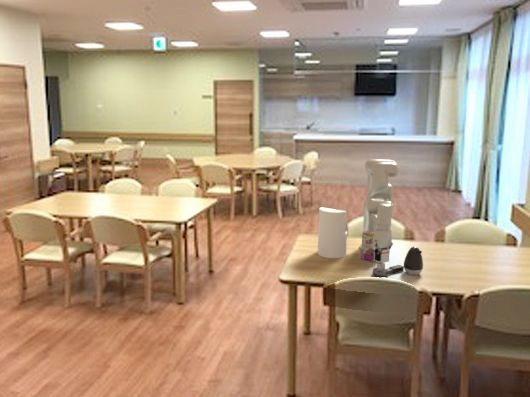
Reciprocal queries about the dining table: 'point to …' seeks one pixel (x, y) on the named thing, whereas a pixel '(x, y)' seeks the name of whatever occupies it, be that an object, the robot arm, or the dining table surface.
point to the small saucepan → (386, 270)
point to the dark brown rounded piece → (413, 261)
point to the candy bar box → (367, 246)
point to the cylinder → (332, 233)
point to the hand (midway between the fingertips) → (381, 259)
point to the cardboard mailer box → (383, 255)
